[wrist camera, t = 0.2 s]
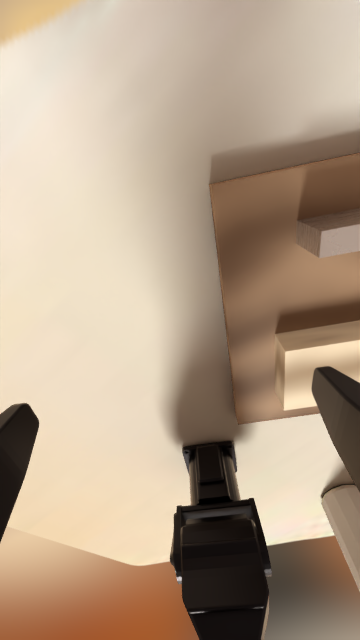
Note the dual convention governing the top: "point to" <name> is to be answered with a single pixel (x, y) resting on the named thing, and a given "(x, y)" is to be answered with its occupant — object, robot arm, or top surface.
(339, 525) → the water bottle
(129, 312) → the top surface
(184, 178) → the top surface
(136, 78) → the top surface
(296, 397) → the birch plate
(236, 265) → the bench board
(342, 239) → the bench dog
